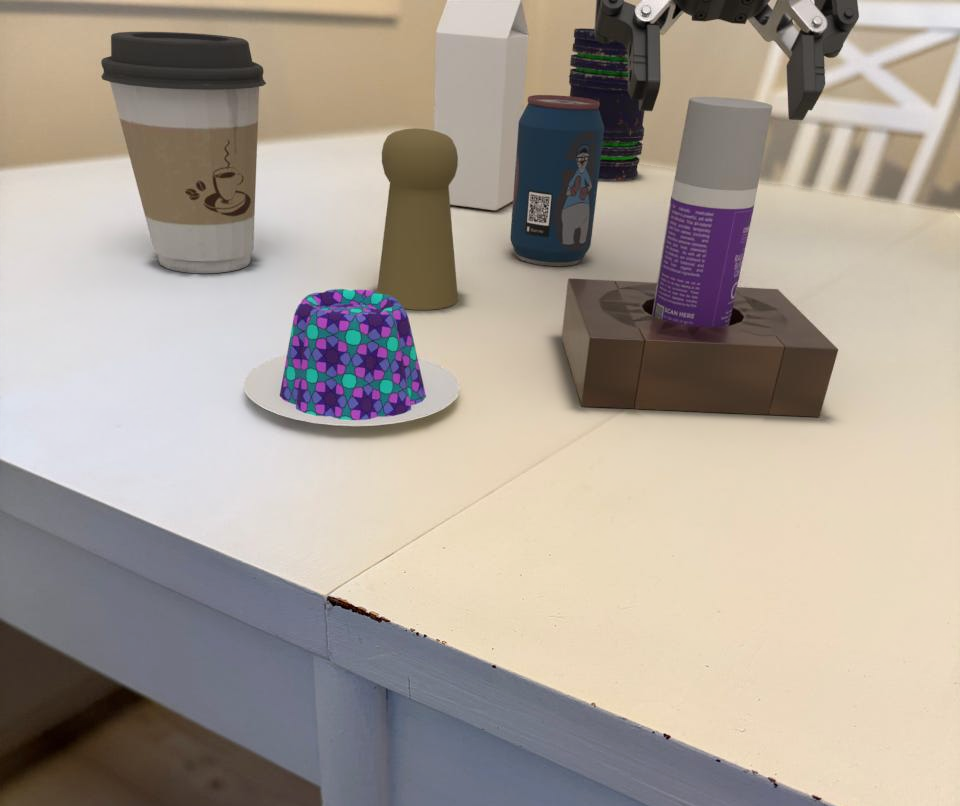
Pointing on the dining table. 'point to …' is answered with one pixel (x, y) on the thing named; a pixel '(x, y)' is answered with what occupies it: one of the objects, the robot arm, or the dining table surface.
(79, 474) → the dining table surface
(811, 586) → the dining table surface
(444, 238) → the cork
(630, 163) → the black striped cylinder
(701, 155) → the container
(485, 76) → the milk carton
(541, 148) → the soda can
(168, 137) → the coffee cup
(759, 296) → the socket board
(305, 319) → the pudding
